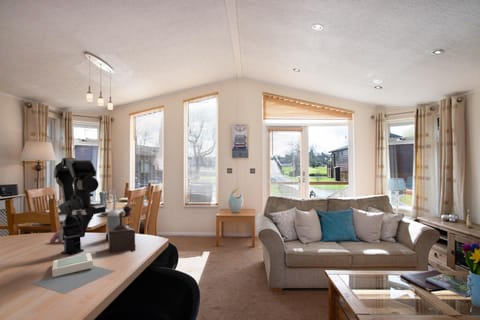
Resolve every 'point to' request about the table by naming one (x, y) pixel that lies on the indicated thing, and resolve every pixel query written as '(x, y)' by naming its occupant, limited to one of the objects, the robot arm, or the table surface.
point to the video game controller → (56, 237)
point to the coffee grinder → (122, 235)
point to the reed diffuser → (113, 217)
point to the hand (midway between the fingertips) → (83, 231)
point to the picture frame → (72, 264)
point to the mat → (73, 279)
